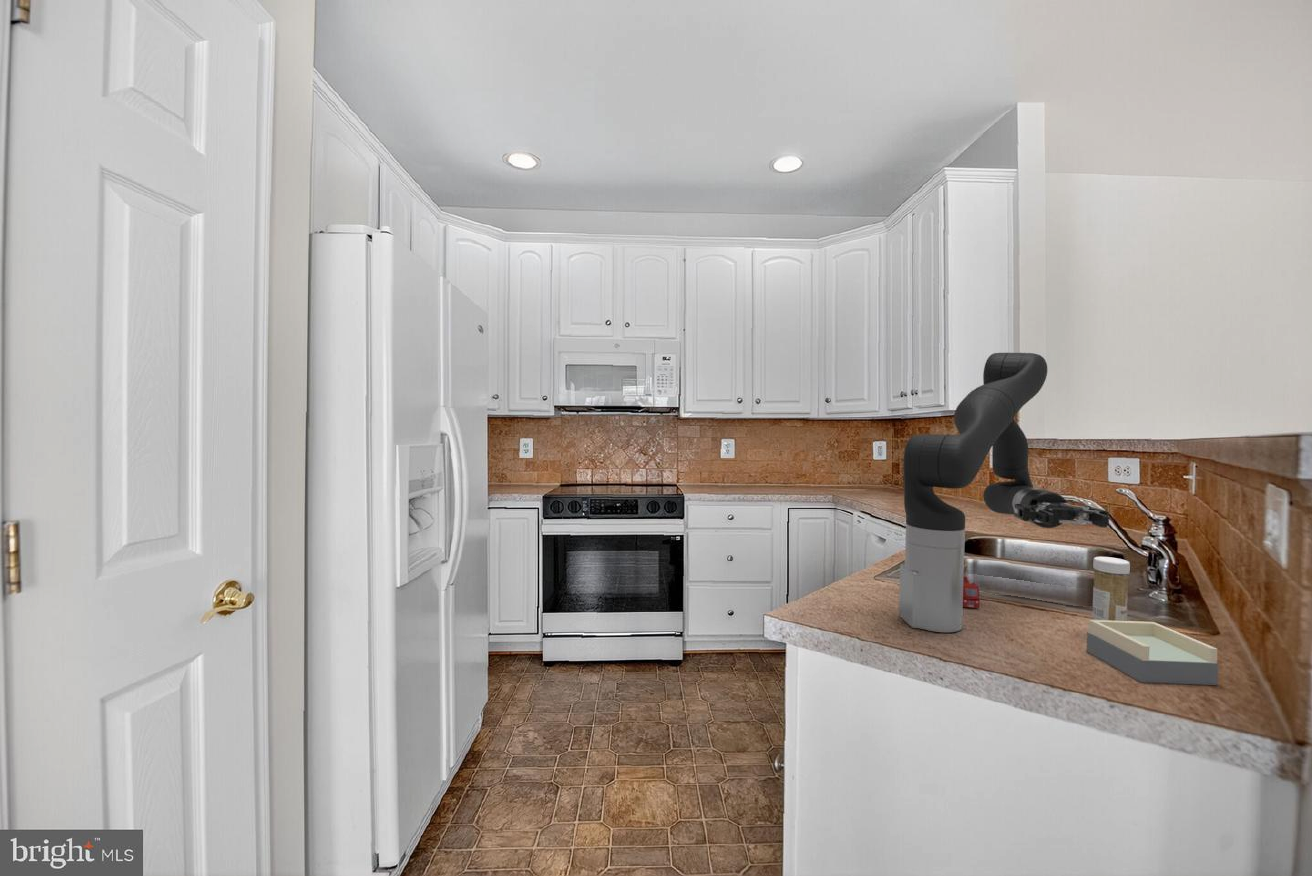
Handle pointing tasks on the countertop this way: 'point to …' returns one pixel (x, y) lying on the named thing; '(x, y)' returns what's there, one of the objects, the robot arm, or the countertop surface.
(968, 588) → the toy fire truck
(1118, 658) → the shallow square tray
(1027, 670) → the countertop surface
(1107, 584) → the sprinkles bottle
